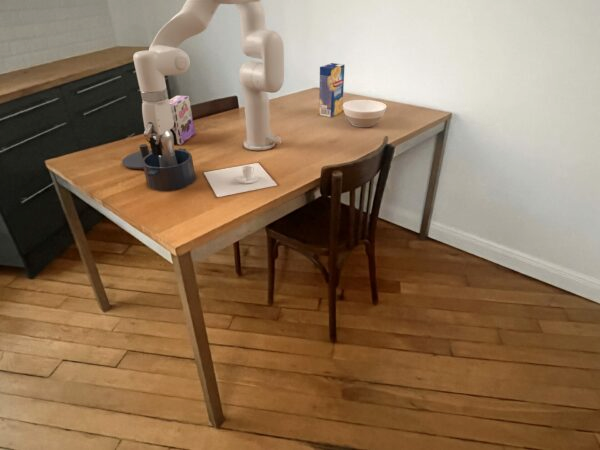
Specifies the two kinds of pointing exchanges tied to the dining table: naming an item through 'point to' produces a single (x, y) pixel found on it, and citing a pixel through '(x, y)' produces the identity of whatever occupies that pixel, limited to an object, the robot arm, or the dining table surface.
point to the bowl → (364, 112)
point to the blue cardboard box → (331, 89)
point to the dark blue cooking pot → (169, 172)
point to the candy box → (182, 118)
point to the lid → (137, 158)
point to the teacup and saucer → (239, 179)
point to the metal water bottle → (167, 150)
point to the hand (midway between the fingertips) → (165, 149)
